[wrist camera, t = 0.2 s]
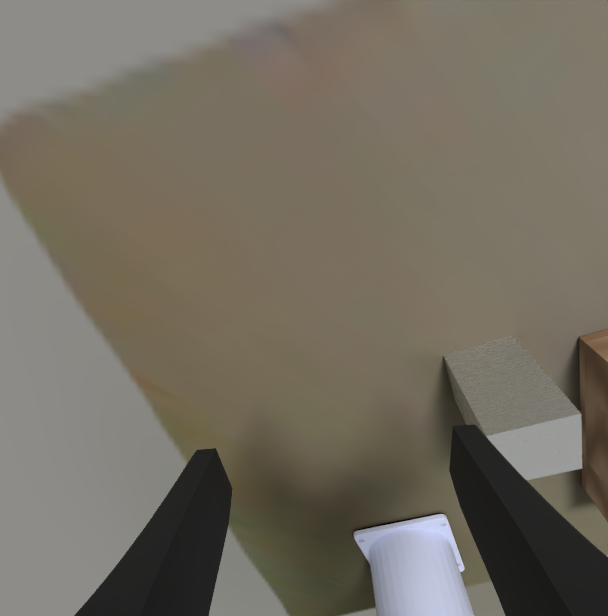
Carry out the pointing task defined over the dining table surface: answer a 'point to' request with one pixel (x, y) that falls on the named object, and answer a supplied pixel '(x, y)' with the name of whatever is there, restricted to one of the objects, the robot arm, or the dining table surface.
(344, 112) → the dining table surface
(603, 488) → the well block
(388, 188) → the dining table surface
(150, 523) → the robot arm
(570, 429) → the grey rectangular block
